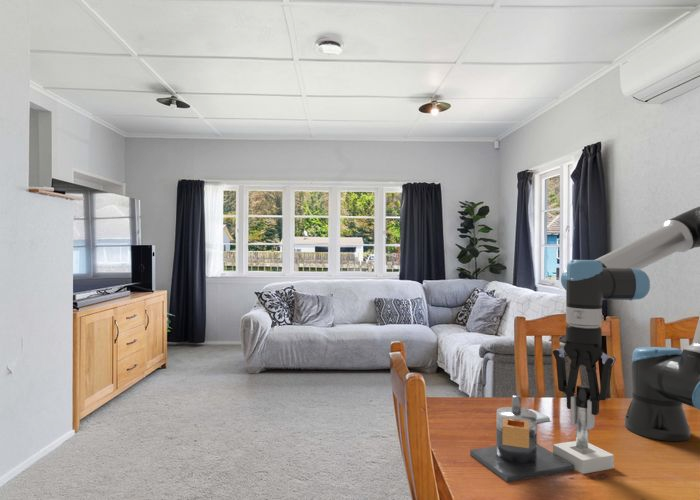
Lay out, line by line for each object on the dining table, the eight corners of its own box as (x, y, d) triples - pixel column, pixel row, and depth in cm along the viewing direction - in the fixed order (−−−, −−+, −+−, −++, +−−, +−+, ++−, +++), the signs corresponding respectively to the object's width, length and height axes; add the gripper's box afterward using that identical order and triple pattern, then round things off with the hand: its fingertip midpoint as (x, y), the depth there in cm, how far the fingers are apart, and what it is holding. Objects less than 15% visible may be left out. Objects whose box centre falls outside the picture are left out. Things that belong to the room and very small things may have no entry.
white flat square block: (582, 451, 114) (582, 439, 114) (613, 468, 106) (613, 455, 106) (553, 456, 112) (553, 444, 112) (582, 473, 103) (582, 460, 103)
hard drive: (515, 421, 132) (550, 416, 136) (496, 412, 139) (530, 407, 144) (515, 427, 132) (549, 422, 136) (496, 418, 139) (530, 413, 144)
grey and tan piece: (497, 419, 116) (497, 388, 116) (536, 424, 113) (536, 393, 113) (493, 443, 102) (494, 408, 102) (538, 449, 98) (538, 413, 98)
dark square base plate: (531, 445, 118) (531, 418, 118) (574, 470, 105) (574, 439, 105) (470, 454, 112) (470, 425, 112) (507, 482, 99) (507, 449, 99)
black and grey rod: (578, 444, 111) (580, 384, 111) (591, 448, 108) (593, 387, 109) (572, 446, 109) (574, 386, 109) (585, 450, 106) (587, 389, 107)
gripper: (542, 323, 112) (541, 420, 112) (616, 331, 101) (615, 440, 100) (554, 320, 117) (553, 413, 117) (626, 327, 106) (625, 430, 106)
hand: (582, 425), depth 109 cm, fingers closed on black and grey rod, 3 cm apart
